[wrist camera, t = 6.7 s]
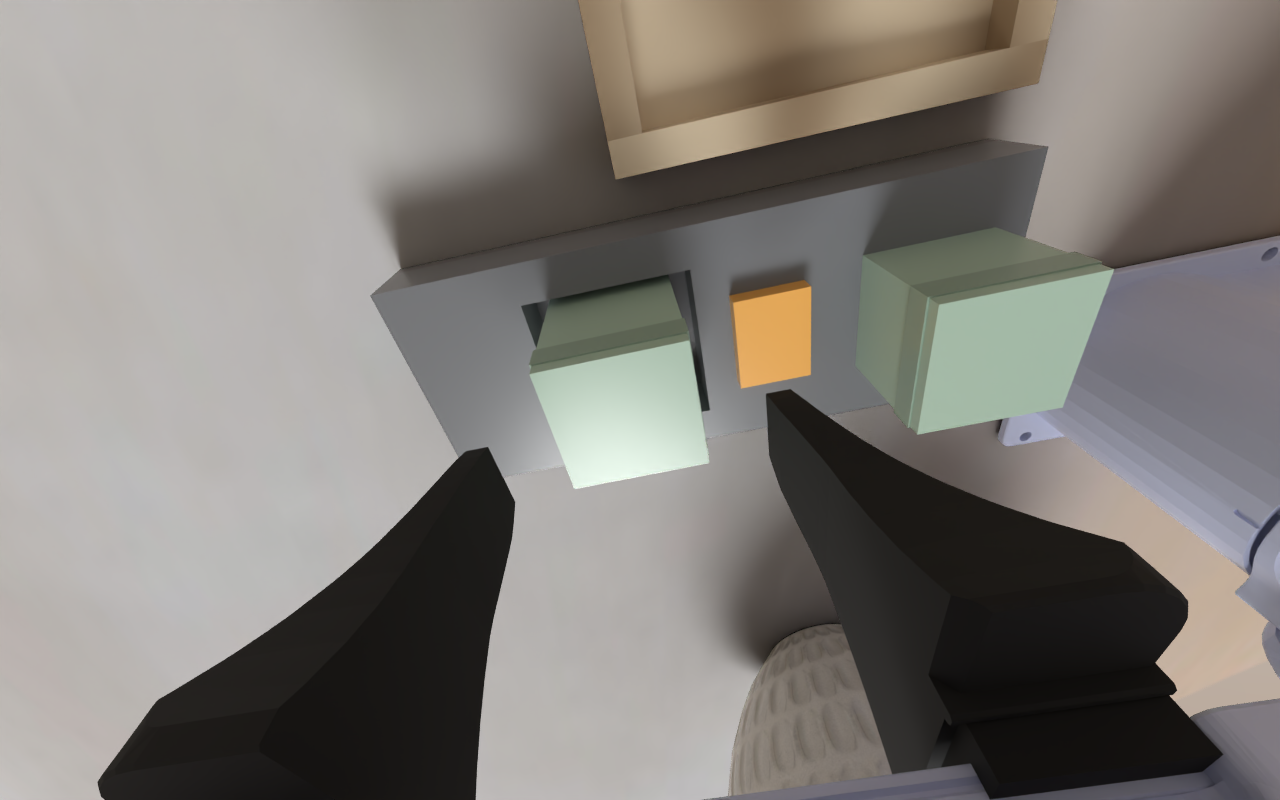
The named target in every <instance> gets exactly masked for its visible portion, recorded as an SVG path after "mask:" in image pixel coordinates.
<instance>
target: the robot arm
mask: <svg viewBox="0 0 1280 800" xmlns="http://www.w3.org/2000/svg"><path fill="white" fill-rule="evenodd" d="M766 408H767V425H768V442H769V456H770V459H771V462H772V465H773V468H774V471H775V474H776V477H777V480H778V483H779V485H780V488H781V491H782V493H783V495H784V497H785V499H786V501H787V503H788V505H789V507H790V509H791V511H792V513H793V516H794V518H795V520H796V522H797V524H798V526H799V528H800V530H801V532H802V534H803V536H804V538H805V540H806V542H807V544H808V546H809V548H810V550H811V552H812V554H813V556H814V558H815V560H816V562H817V564H818V566H819V568H820V571H821V573H822V575H823V578H824V580H825V582H826V585H827V587H828V590H829V593H830V595H831V598H832V601H833V603H834V606H835V609H836V611H837V614H838V617H839V619H840V622H841V625H842V628H843V630H844V633H845V636H846V639H847V642H848V644H849V647H850V650H851V653H852V655H853V658H854V661H855V664H856V667H857V670H858V673H859V676H860V678H861V681H862V684H863V687H864V690H865V693H866V696H867V699H868V702H869V705H870V708H871V711H872V714H873V717H874V720H875V723H876V726H877V729H878V732H879V735H880V738H881V741H882V744H883V747H884V751H885V754H886V757H887V760H888V763H889V766H890V769H891V772H892V774H890V775H882V776H875V777H867V778H860V779H853V780H845V781H838V782H830V783H823V784H816V785H808V786H801V787H793V788H786V789H779V790H771V791H764V792H756V793H749V794H742V795H734V796H727V797H719V798H712V799H704V800H1280V699H1273V700H1266V701H1258V702H1251V703H1244V704H1237V705H1230V706H1222V707H1217V708H1213V709H1208V710H1205V711H1202V712H1200V713H1197V714H1195V715H1193V716H1191V717H1190V718H1189V717H1188V715H1187V714H1186V713H1185V712H1184V711H1183V710H1182V709H1181V708H1180V707H1179V706H1178V705H1177V704H1176V702H1175V701H1174V700H1173V699H1172V698H1171V697H1170V696H1169V695H1173V694H1174V693H1175V692H1176V691H1177V689H1176V686H1175V684H1174V682H1173V681H1172V680H1171V679H1170V678H1169V677H1168V676H1167V675H1166V674H1165V673H1164V672H1163V671H1162V670H1161V669H1160V668H1159V667H1158V666H1157V665H1156V663H1155V662H1156V661H1157V660H1158V658H1159V657H1160V656H1161V655H1162V654H1163V652H1164V651H1165V650H1166V649H1167V647H1168V646H1169V645H1170V644H1171V642H1172V641H1173V640H1174V639H1175V637H1176V636H1177V635H1178V634H1179V632H1180V631H1181V629H1182V628H1183V626H1184V624H1185V622H1186V620H1187V618H1188V600H1187V599H1186V598H1185V597H1184V595H1183V594H1182V593H1181V592H1180V591H1179V590H1178V589H1177V588H1176V587H1175V586H1173V585H1172V584H1171V583H1170V582H1169V581H1168V580H1167V579H1166V578H1164V577H1163V576H1162V575H1161V574H1160V573H1159V572H1158V571H1156V570H1155V569H1154V568H1153V567H1152V566H1151V565H1150V564H1149V563H1147V562H1146V561H1145V560H1144V559H1143V558H1142V557H1140V556H1139V555H1138V554H1137V553H1136V552H1135V551H1133V550H1132V549H1131V548H1130V547H1128V546H1127V545H1126V544H1125V543H1123V542H1120V541H1116V540H1113V539H1109V538H1105V537H1102V536H1098V535H1095V534H1091V533H1088V532H1084V531H1081V530H1077V529H1073V528H1070V527H1066V526H1063V525H1059V524H1056V523H1052V522H1049V521H1046V520H1043V519H1040V518H1037V517H1034V516H1031V515H1028V514H1025V513H1022V512H1019V511H1016V510H1013V509H1010V508H1007V507H1004V506H1001V505H999V504H996V503H993V502H990V501H988V500H985V499H982V498H980V497H977V496H975V495H972V494H970V493H968V492H965V491H963V490H960V489H958V488H955V487H953V486H951V485H948V484H946V483H944V482H941V481H939V480H937V479H935V478H932V477H930V476H928V475H926V474H924V473H922V472H920V471H918V470H916V469H914V468H912V467H910V466H908V465H906V464H904V463H902V462H900V461H898V460H896V459H894V458H893V457H891V456H889V455H887V454H885V453H884V452H882V451H880V450H879V449H877V448H875V447H873V446H872V445H870V444H868V443H867V442H865V441H863V440H862V439H860V438H859V437H857V436H855V435H854V434H853V433H851V432H850V431H848V430H847V429H845V428H844V427H842V426H841V425H839V424H838V423H836V422H835V421H833V420H832V419H831V418H829V417H828V416H826V415H825V414H824V413H822V412H821V411H820V410H818V409H817V408H815V407H814V406H813V405H811V404H810V403H809V402H807V401H806V400H805V399H803V398H802V397H801V396H799V395H798V394H797V393H795V392H794V391H792V390H791V389H787V390H782V391H777V392H772V393H767V394H766ZM1064 436H1066V437H1067V438H1068V439H1070V440H1071V441H1072V442H1074V443H1075V444H1076V445H1078V446H1079V447H1080V448H1082V449H1083V450H1084V451H1086V452H1087V453H1088V454H1090V455H1091V456H1092V457H1093V458H1095V459H1096V460H1097V461H1099V462H1100V463H1101V464H1103V465H1104V466H1105V467H1107V468H1108V469H1109V470H1111V471H1112V472H1113V473H1115V474H1116V475H1117V476H1119V477H1120V478H1121V479H1123V480H1124V481H1125V482H1127V483H1128V484H1129V485H1131V486H1132V487H1133V488H1135V489H1136V490H1137V491H1138V492H1140V493H1141V494H1142V495H1144V496H1145V497H1146V498H1148V499H1149V500H1150V501H1152V502H1153V503H1154V504H1156V505H1157V506H1158V507H1160V508H1161V509H1162V510H1164V511H1165V512H1166V513H1168V514H1169V515H1170V516H1172V517H1173V518H1174V519H1176V520H1177V521H1178V522H1179V523H1181V524H1182V525H1183V526H1185V527H1186V528H1187V529H1189V530H1190V531H1191V532H1193V533H1194V534H1195V535H1197V536H1198V537H1199V538H1201V539H1202V540H1203V541H1205V542H1206V543H1207V544H1209V545H1210V546H1211V547H1213V548H1214V549H1215V550H1217V551H1218V552H1219V553H1220V554H1222V555H1223V556H1224V557H1226V558H1227V559H1228V560H1230V561H1231V562H1232V563H1234V564H1235V565H1236V566H1238V567H1239V568H1240V569H1242V570H1243V571H1244V572H1246V573H1247V574H1248V575H1250V576H1249V578H1248V579H1247V580H1246V582H1245V583H1244V584H1243V585H1242V586H1241V587H1240V588H1238V589H1237V590H1236V591H1235V594H1236V595H1237V596H1238V597H1240V598H1241V599H1242V600H1243V601H1245V602H1246V603H1247V604H1248V605H1250V606H1251V607H1252V608H1253V609H1255V610H1256V611H1257V612H1258V613H1260V614H1261V615H1262V616H1263V617H1265V618H1266V619H1267V620H1268V621H1269V622H1268V623H1267V624H1266V626H1265V628H1264V631H1263V633H1262V645H1263V648H1264V651H1265V653H1266V656H1267V659H1268V661H1269V662H1270V664H1271V666H1272V667H1273V669H1274V671H1275V673H1276V674H1277V676H1278V677H1279V679H1280V236H1275V237H1270V238H1265V239H1260V240H1255V241H1250V242H1245V243H1240V244H1235V245H1231V246H1226V247H1221V248H1216V249H1211V250H1206V251H1201V252H1196V253H1191V254H1186V255H1181V256H1176V257H1171V258H1166V259H1161V260H1157V261H1152V262H1147V263H1142V264H1137V265H1132V266H1127V267H1122V268H1117V269H1114V272H1113V274H1112V277H1111V280H1110V282H1109V285H1108V288H1107V290H1106V293H1105V296H1104V298H1103V301H1102V304H1101V306H1100V309H1099V312H1098V314H1097V317H1096V320H1095V322H1094V325H1093V328H1092V330H1091V333H1090V336H1089V338H1088V341H1087V344H1086V346H1085V349H1084V352H1083V354H1082V357H1081V360H1080V362H1079V365H1078V368H1077V371H1076V373H1075V376H1074V379H1073V381H1072V384H1071V387H1070V389H1069V392H1068V395H1067V397H1066V400H1065V403H1064V405H1063V408H1057V409H1052V410H1047V411H1041V412H1036V413H1031V414H1025V415H1020V416H1015V417H1009V418H1004V419H1003V420H1002V424H1001V427H1000V431H999V434H998V440H999V441H1000V442H1001V443H1002V444H1003V445H1005V446H1015V445H1020V444H1026V443H1031V442H1037V441H1042V440H1048V439H1053V438H1059V437H1064ZM514 511H515V501H514V499H513V497H512V495H511V493H510V491H509V489H508V487H507V484H506V482H505V480H504V478H503V476H502V474H501V472H500V470H499V468H498V466H497V464H496V462H495V460H494V458H493V456H492V454H491V452H490V450H489V448H488V447H485V448H479V449H474V450H469V451H465V452H464V453H463V454H462V455H461V456H460V457H459V458H458V459H457V460H456V461H455V462H454V463H453V464H452V465H451V466H450V468H449V469H448V470H447V471H446V472H445V473H444V474H443V475H442V476H441V477H440V478H439V480H438V481H437V482H436V483H435V484H434V485H433V486H432V487H431V488H430V489H429V490H428V492H427V493H426V494H425V495H424V496H423V497H422V498H421V499H420V500H419V501H418V502H417V504H416V505H415V506H414V507H413V508H412V509H411V510H410V511H409V512H408V513H407V514H406V515H405V516H404V517H403V518H402V519H401V520H400V521H399V522H398V523H397V524H396V525H395V526H394V527H393V528H392V529H391V530H390V531H389V532H388V533H387V534H386V535H385V536H384V537H383V538H382V539H381V540H380V541H379V542H378V543H377V544H376V545H375V546H374V547H373V548H372V549H371V550H370V551H368V552H367V553H366V554H365V555H364V556H363V557H362V558H361V559H360V560H358V561H357V562H356V563H355V564H354V565H353V566H352V567H350V568H349V569H348V570H347V571H346V572H345V573H343V574H342V575H341V576H340V577H339V578H337V579H336V580H335V581H334V582H333V583H331V584H330V585H329V586H327V587H326V588H325V589H324V590H322V591H321V592H320V593H318V594H317V595H316V596H315V597H313V598H312V599H311V600H309V601H308V602H307V603H305V604H304V605H303V606H302V607H300V608H299V609H298V610H296V611H295V612H294V613H292V614H291V615H290V616H288V617H287V618H286V619H284V620H283V621H281V622H280V623H278V624H277V625H276V626H274V627H273V628H271V629H270V630H269V631H267V632H266V633H264V634H263V635H261V636H260V637H258V638H257V639H255V640H254V641H252V642H251V643H249V644H248V645H246V646H245V647H243V648H242V649H240V650H239V651H237V652H236V653H234V654H233V655H231V656H230V657H228V658H226V659H225V660H223V661H222V662H220V663H218V664H217V665H215V666H214V667H212V668H210V669H209V670H207V671H205V672H204V673H202V674H200V675H199V676H197V677H195V678H194V679H192V680H191V681H189V682H187V683H186V684H184V685H182V686H181V687H179V688H177V689H176V690H174V691H172V692H171V693H169V694H167V695H166V696H164V697H162V698H160V699H159V700H158V701H157V702H156V703H155V704H154V705H153V706H152V708H151V709H150V711H149V712H148V713H147V715H146V716H145V717H144V719H143V720H142V722H141V723H140V724H139V726H138V727H137V729H136V730H135V731H134V733H133V734H132V735H131V737H130V738H129V740H128V741H127V742H126V744H125V745H124V746H123V748H122V749H121V750H120V752H119V753H118V754H117V756H116V757H115V758H114V760H113V761H112V762H111V764H110V765H109V766H108V768H107V769H106V770H105V772H104V773H103V774H102V776H101V778H100V779H99V781H98V787H99V791H100V794H101V797H102V798H103V799H105V800H476V777H477V760H478V747H479V733H480V719H481V709H482V699H483V689H484V680H485V671H486V663H487V655H488V648H489V640H490V634H491V628H492V623H493V618H494V614H495V610H496V605H497V601H498V597H499V593H500V588H501V584H502V580H503V576H504V571H505V567H506V563H507V558H508V554H509V549H510V545H511V540H512V533H513V524H514Z"/></svg>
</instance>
